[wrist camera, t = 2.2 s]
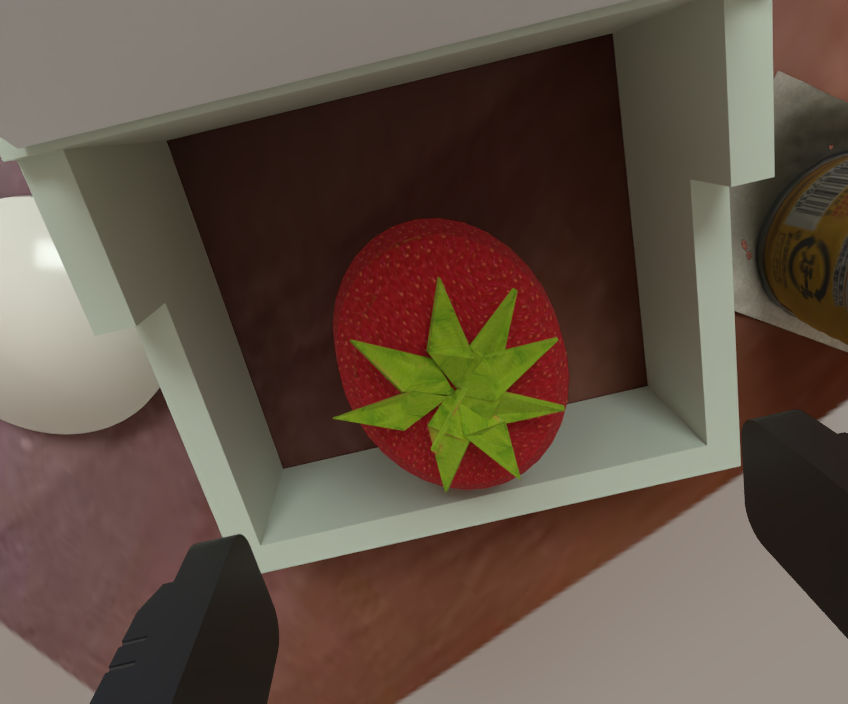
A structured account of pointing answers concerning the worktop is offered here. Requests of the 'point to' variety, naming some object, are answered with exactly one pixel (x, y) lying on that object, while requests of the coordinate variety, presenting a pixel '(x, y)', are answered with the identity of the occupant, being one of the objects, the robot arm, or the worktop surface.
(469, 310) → the strawberry
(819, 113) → the condiment
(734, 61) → the cold frame
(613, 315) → the worktop surface
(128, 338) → the cream white rounded part
